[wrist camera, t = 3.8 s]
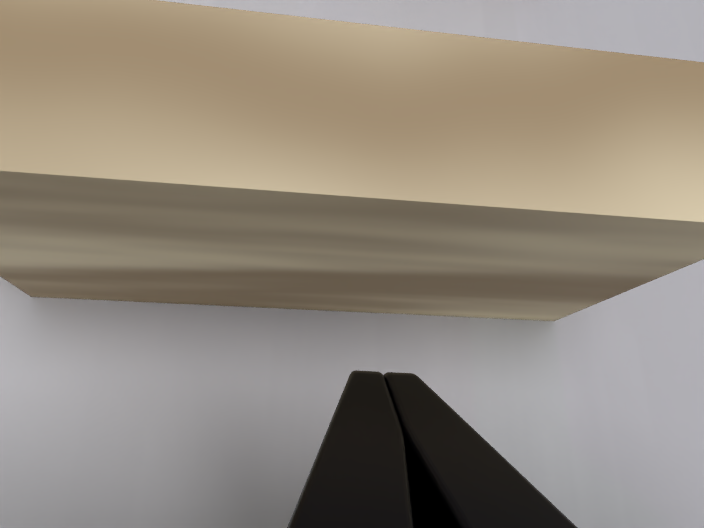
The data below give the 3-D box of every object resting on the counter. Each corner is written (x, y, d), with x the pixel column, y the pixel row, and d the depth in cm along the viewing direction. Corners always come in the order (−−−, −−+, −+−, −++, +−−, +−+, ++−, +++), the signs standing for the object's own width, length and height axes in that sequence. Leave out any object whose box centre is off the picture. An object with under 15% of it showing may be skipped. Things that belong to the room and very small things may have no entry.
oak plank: (552, 321, 18) (779, 228, 10) (32, 297, 16) (-178, 157, 8) (544, 222, 18) (748, 66, 11) (50, 188, 16) (-124, -32, 9)
